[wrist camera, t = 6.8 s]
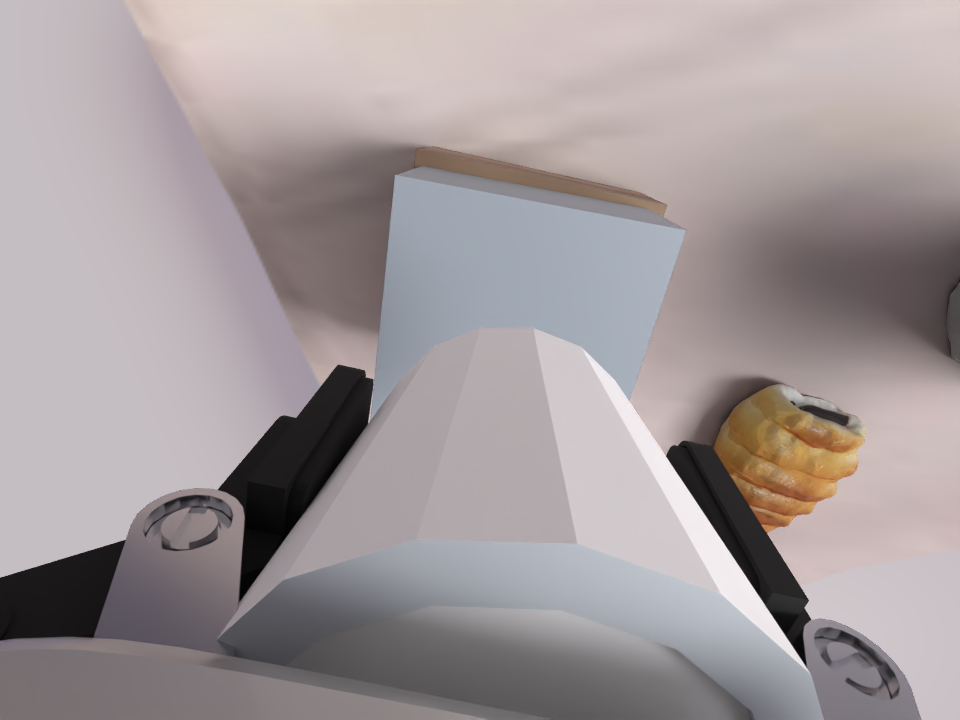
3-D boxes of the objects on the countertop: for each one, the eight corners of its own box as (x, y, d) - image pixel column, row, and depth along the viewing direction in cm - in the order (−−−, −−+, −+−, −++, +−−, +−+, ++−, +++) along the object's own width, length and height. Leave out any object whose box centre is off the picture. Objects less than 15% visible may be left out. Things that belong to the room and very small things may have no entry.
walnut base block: (435, 146, 24) (416, 149, 20) (639, 192, 25) (666, 205, 20) (405, 337, 28) (383, 376, 24) (580, 375, 29) (592, 420, 24)
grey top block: (422, 165, 20) (394, 174, 16) (647, 208, 20) (686, 230, 16) (397, 370, 24) (369, 426, 19) (588, 406, 24) (606, 470, 19)
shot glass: (703, 330, 11) (996, 631, 4) (610, 574, 13) (700, 980, 7) (373, 268, 10) (152, 477, 4) (349, 526, 13) (195, 894, 7)
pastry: (768, 530, 32) (798, 578, 29) (668, 497, 32) (686, 542, 28) (859, 406, 28) (907, 444, 25) (747, 367, 28) (779, 400, 24)
